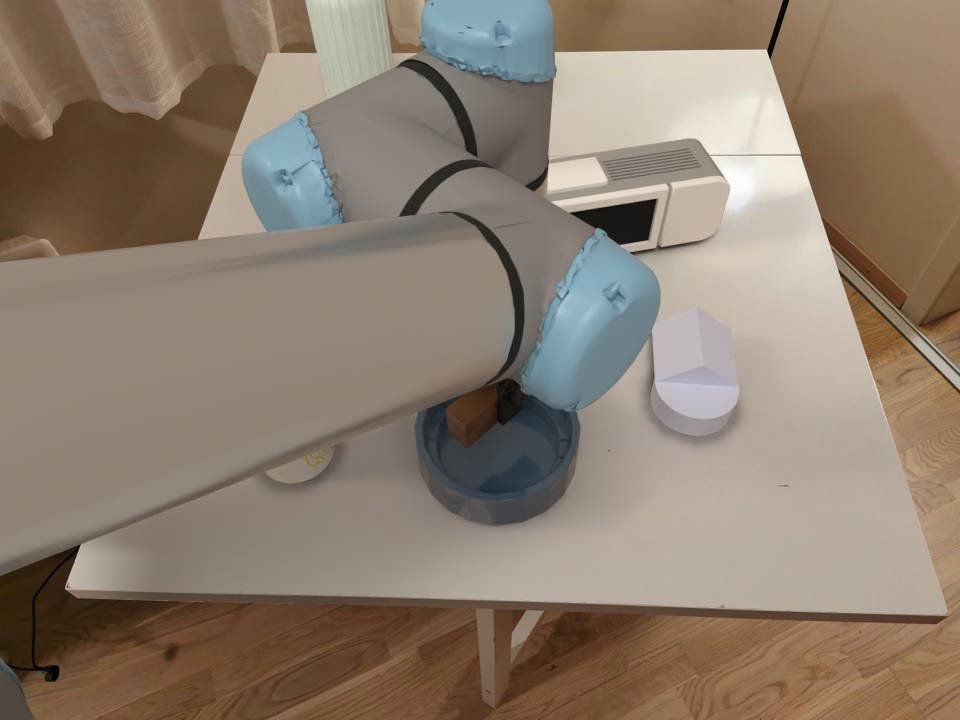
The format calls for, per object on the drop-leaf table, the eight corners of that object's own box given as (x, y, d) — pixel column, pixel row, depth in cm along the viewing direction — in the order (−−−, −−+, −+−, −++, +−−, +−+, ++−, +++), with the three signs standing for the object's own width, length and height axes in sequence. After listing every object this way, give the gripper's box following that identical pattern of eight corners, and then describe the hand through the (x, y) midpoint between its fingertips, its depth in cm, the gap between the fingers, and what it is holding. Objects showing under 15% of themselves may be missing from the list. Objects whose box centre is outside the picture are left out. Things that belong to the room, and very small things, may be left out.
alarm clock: (518, 278, 93) (520, 206, 83) (502, 232, 98) (502, 160, 89) (714, 245, 96) (737, 172, 86) (688, 202, 101) (706, 129, 92)
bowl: (497, 561, 69) (496, 534, 64) (389, 456, 76) (381, 426, 72) (607, 457, 76) (614, 426, 71) (498, 370, 83) (497, 337, 79)
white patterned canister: (313, 492, 74) (286, 430, 65) (246, 471, 76) (209, 407, 66) (347, 430, 79) (325, 363, 69) (282, 411, 80) (253, 344, 71)
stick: (466, 449, 66) (464, 426, 63) (448, 432, 67) (444, 409, 64) (546, 382, 71) (548, 357, 67) (528, 367, 72) (528, 342, 69)
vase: (407, 96, 121) (391, -42, 103) (387, 135, 114) (365, -7, 96) (344, 90, 123) (317, -47, 105) (320, 127, 116) (287, -13, 98)
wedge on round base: (647, 342, 85) (651, 432, 77) (656, 304, 80) (662, 397, 72) (723, 347, 85) (736, 439, 77) (737, 308, 79) (753, 403, 71)
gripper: (613, 244, 48) (584, 430, 67) (457, 149, 55) (471, 341, 74) (537, 302, 45) (529, 480, 64) (383, 193, 52) (416, 382, 71)
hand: (498, 405), depth 69 cm, fingers closed on stick, 3 cm apart
